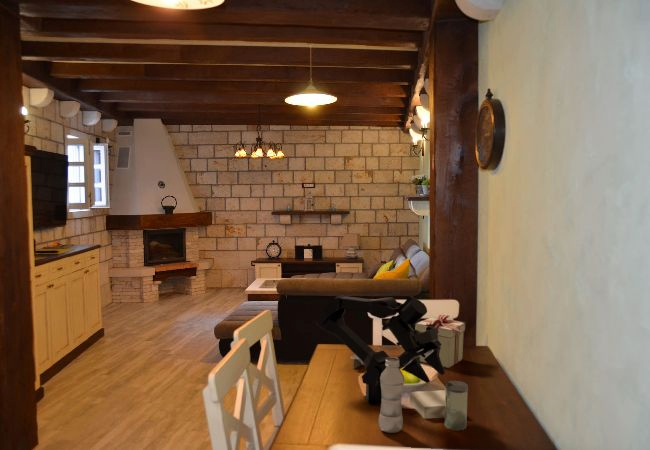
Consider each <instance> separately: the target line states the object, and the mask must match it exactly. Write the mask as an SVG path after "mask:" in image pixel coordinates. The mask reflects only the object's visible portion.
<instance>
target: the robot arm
mask: <svg viewBox="0 0 650 450" xmlns="http://www.w3.org/2000/svg"><path fill="white" fill-rule="evenodd" d="M346 310H350V311H357V312H365V313H367V314H370V316H372V317H375V318H378V319H386V318H389V317H390V318H389V319H388V320H387V319H386V320H383V321H382V328H381V330H382V331H387V330H389V331H390V332H391V334H392V335H393V336H394V338H395V339H396V341H397V342H396V345H397V347H400V346H401V348H402V349H403V350H404V351H403V352H402V353H400V355H399V356H397V358H398V359H399V364H400V367H399V369H401V370H402V371H405V372H407V373H408V374H410V375H412V376H414V377H415V378H417V379H419V380H421V381H422V382H424V383H426V384H428V383H430V382H431V379H430V378H429V377H428V374H427V373H426V371H425V369H424V368H423V366H422V364H421V362H420V356H422V357H424V358H425V357H426V358H425V359H424V360H425V361H426V362H427V363H426V364H428V365H429V366H430V367H431V368H433V369H434V370H435V371H436V372H437V373H438V374H440V375H441V376H444V375H445V374H446V372H445V369H444V368H445V367H443V366H442V363H441V360H440V357H439V352H440V349H441V347H440V346H441V345H442V344H441V343H440V342H439V341H438V340H436V339H438V336H437V335H438V333H439V331H438V330H437V329H436V328H435V327H434V326H433V325H432V326H429V327H426V331H424V332H422V333H420V332H419V331H418V330H415V329H413V328H412V327H411V326H414V325H416V323H419V322H420V320H421V319H422V318H423V317H424V316H425V315H427V313H428V308H427V306H426V305H425V303H423V302H422V301H421V300H419V299H417V298H415V296H414V295H410V296H408V297H407V299H405V301H404V302H403V303H402V302H399V301H397V300H396V298H394V297H391V296H390V297H381V298H375V299H373V298H362V297H354V296H348V295H345V294H344V295H343V294H342V295H338V296H335V297H333V298H332V300H331V301H330V302H329V303H328V304H326V305H325V306H324V307H323V308H322V309H320V310H319V311H317V312H316V316H315V323H316V326H318V327H319V328H321V329H322V330H323V331H325V332H328V333H330V334H334V335H335V336H336V338H338V339H339V340H340V341H341V342H342V343H343V344H344V346H346V347H347V348H348V349H349V350H351V352H353V355H357V356H358V357H359V358H360V359H361V360H362V361H363V363H364V365H363V367H364V369H365V371H366V372H365V373H363V374H362V375H361V381H362V383H363V384H365V395H364V396H363V397H364V398H363V399H364V400H365V401H366V403H367V404H368V405H369V406H374V405H375V406H376V405H381V402H382V396H381V383H380V377H381V374H382V372H383V371H384V370H385V368H386V366H385V363H386V358H390V357H391V356H389V355H388V353H387V352H386V351H385V350H380V351H375V350H374V349H372V348H371V346H370V345H368V344H367V343H366V342H365V341H364V340H363V339H362V338H361V337H360V336H358V334H356V332H354V331H353V330H352V329H351V328H350V327H349V326H348V325H347V324H346V323H345V320H344V314H345V313H346Z"/></svg>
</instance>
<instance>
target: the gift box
mask: <svg viewBox="0 0 650 450" xmlns="http://www.w3.org/2000/svg"><path fill="white" fill-rule="evenodd" d="M448 318H450V315H446V314H439V316H438V317H437V318H436V317H429V318H427V319H424V320H421V321H418V322H416V323H415V324H414V325H415V327H414V328H415V329H414V330H418V331H419V332H420V333H422V332H424V331H426V327H429V326H432V325H433V326H434V327H435V328H436V329H437V330H438V331H439V333H438V335H437V336H438V339H436V340H438V341H439V342H440V343H441V344H442V345H441V346H440V347H441V349H440V352H439V357H440V360H441V363H442V366H443V368H447V369H450V368H451V367H453V366H454V365H456V364H458V363H459V362H461V361H462V360H463V354H464V353H463V349H464V335H465V331H466V322H467V321H466V322H465V321H459V320H453V319H448ZM425 358H426V357H425ZM425 358H424V357H422V356H420V363H426V364H428V363H427V362H426V361H425V360H424V359H425Z"/></svg>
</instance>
